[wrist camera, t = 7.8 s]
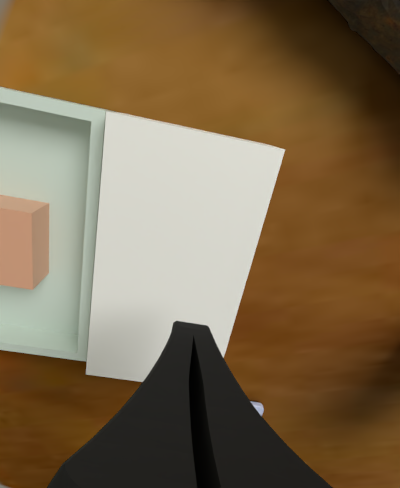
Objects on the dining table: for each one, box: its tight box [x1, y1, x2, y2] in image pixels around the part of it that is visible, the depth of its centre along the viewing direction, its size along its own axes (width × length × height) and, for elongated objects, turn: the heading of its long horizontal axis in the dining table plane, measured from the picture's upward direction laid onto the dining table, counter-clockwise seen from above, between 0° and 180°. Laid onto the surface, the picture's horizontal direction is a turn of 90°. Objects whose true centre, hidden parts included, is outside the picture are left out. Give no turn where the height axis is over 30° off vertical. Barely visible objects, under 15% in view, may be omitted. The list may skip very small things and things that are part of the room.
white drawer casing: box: [86, 111, 285, 382], centre depth 17 cm, size 15×8×3 cm, turn 169°
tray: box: [0, 87, 115, 362], centre depth 17 cm, size 15×9×3 cm, turn 169°
